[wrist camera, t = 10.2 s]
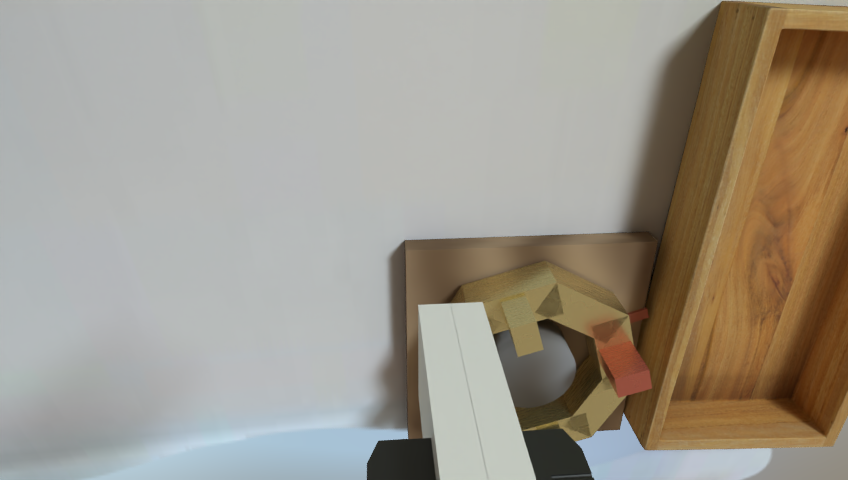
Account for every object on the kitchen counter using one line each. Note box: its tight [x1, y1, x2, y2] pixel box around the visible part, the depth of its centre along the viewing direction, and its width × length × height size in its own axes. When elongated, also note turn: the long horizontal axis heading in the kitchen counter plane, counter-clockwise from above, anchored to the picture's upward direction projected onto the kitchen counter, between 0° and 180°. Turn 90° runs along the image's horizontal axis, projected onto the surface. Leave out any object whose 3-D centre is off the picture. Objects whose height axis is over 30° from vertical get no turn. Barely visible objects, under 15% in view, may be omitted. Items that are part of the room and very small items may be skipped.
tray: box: [623, 1, 848, 450], centre depth 40 cm, size 31×15×6 cm, turn 177°
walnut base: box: [405, 232, 658, 439], centre depth 43 cm, size 17×17×4 cm
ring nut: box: [451, 261, 652, 441], centre depth 40 cm, size 14×14×6 cm
